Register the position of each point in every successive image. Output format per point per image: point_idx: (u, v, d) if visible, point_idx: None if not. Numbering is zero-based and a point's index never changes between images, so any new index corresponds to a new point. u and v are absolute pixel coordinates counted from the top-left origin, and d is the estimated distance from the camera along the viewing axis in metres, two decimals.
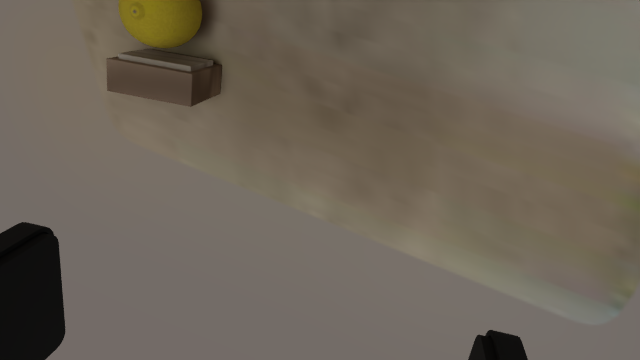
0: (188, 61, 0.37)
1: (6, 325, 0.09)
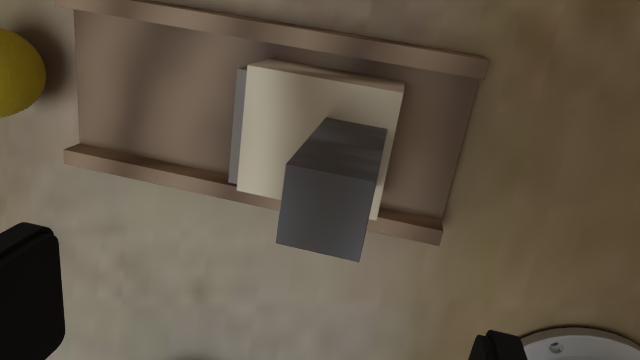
0: None
1: (6, 325, 0.09)
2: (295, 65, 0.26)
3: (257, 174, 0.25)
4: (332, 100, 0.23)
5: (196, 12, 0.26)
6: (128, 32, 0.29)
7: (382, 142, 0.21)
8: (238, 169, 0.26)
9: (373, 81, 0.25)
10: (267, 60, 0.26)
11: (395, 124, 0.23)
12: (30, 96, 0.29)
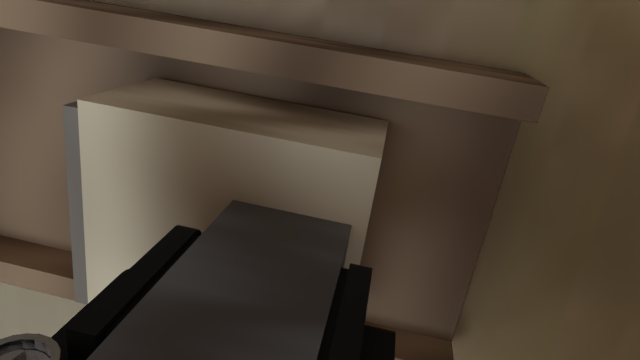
0: None
1: None
2: (191, 93, 0.14)
3: None
4: (242, 170, 0.12)
5: None
6: None
7: (332, 282, 0.09)
8: (87, 283, 0.14)
9: (328, 126, 0.13)
10: (143, 83, 0.15)
11: (366, 217, 0.12)
12: None
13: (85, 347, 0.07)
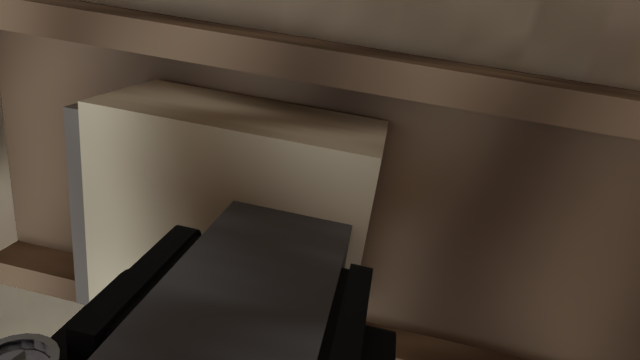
0: None
1: None
2: (191, 94, 0.14)
3: None
4: (243, 170, 0.12)
5: (211, 33, 0.14)
6: (88, 65, 0.16)
7: (332, 282, 0.09)
8: (89, 285, 0.14)
9: (328, 126, 0.13)
10: (143, 85, 0.15)
11: (367, 217, 0.12)
12: None
13: (85, 347, 0.07)
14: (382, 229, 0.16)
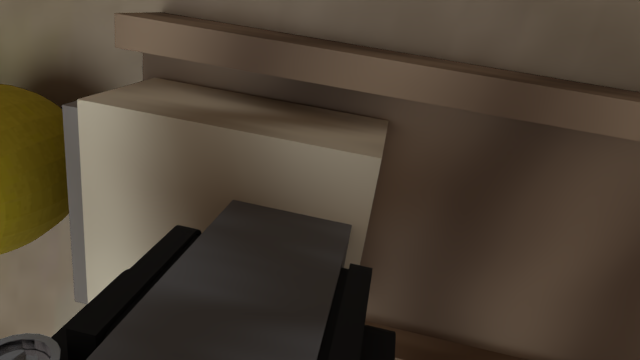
0: None
1: None
2: (191, 92, 0.14)
3: None
4: (242, 169, 0.12)
5: (409, 65, 0.13)
6: (245, 92, 0.16)
7: (332, 282, 0.09)
8: (87, 283, 0.14)
9: (328, 125, 0.13)
10: (142, 83, 0.15)
11: (367, 217, 0.12)
12: (65, 209, 0.16)
13: (85, 347, 0.07)
14: (549, 264, 0.16)
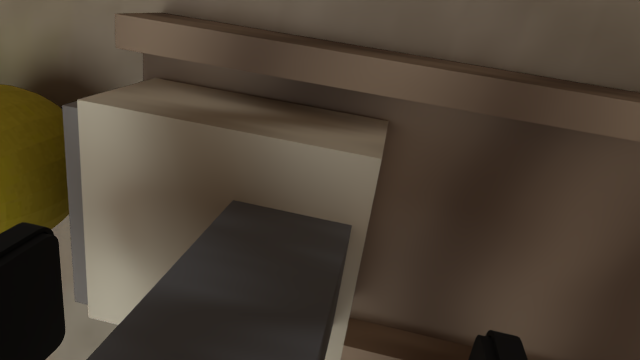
0: None
1: (6, 325, 0.09)
2: (191, 93, 0.14)
3: (120, 293, 0.14)
4: (243, 170, 0.12)
5: (409, 65, 0.13)
6: (245, 92, 0.16)
7: (332, 283, 0.09)
8: (87, 283, 0.14)
9: (328, 126, 0.13)
10: (142, 83, 0.15)
11: (367, 217, 0.12)
12: (66, 209, 0.16)
13: None
14: (549, 264, 0.16)
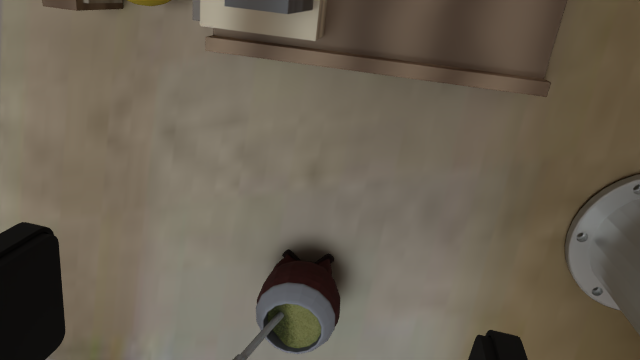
0: None
1: (6, 325, 0.09)
2: None
3: (216, 8, 0.31)
4: None
5: None
6: None
7: None
8: (200, 6, 0.31)
9: None
10: None
11: None
12: None
13: None
14: (416, 3, 0.33)
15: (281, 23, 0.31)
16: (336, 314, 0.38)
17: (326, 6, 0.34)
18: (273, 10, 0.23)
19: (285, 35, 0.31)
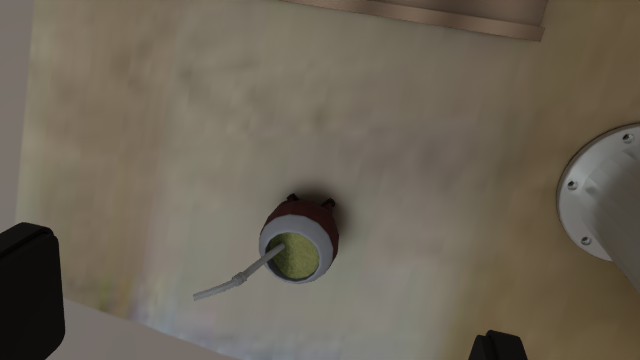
0: None
1: (6, 325, 0.09)
2: None
3: None
4: None
5: None
6: None
7: None
8: None
9: None
10: None
11: None
12: None
13: None
14: None
15: None
16: (334, 248, 0.40)
17: None
18: None
19: None
